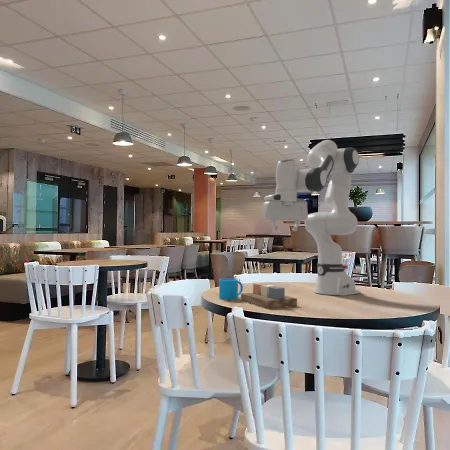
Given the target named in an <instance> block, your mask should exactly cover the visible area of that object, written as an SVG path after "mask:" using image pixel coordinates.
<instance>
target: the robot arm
mask: <svg viewBox="0 0 450 450" xmlns="http://www.w3.org/2000/svg"><path fill="white" fill-rule="evenodd" d="M306 160H307V165H308V167H309V168H301V169H299V168H298V166H297V161H296V160H295V159H292V158H291V159H281V160H278V161H277V166H276V169H275V182H276V186H275V190H274V191H275V193H272V194H269V195H266V196H264V198H263V199H264V201H265V202H264V203H263V204H262V213H261V214H262V216H261V217H262V218H263V219H264V220H269V223H270V224H271V227H272V231H278V229H279V226H278V225H276V223H275V222H276V221H277V220H281V221H283V220H284V221H294V226H292V227H291V230H292V232H298V227H299V225H300V224H301V221H303V222H304V228H305V230H306V232H308V233H309V234H310V235H311V236H312V237H313V239H314V241H315V243H316V245H317V255H318V258H317V259H318V260H317V261H318V262H317V264H316V265H317V267H316V271H317V275H316V276H317V277H316V284H315V288H314V291H313V292H314V293H316V294H321V295H327V296H329V295H330V296H332V295H333V296H350V295H355V294H360V293H361V290H360V289H359V290H358V289H356V283H355V280H354V278H352V277H351V276H350V275H349V274H347V273H346V272H345V271H346V270H348V269H349V265H348V264H343V260H342V259H343V258H342V257H343V250H342V247H341V246H340V244H338V243H337V242H335V241H334V240H333V238H332V236H345V235H346V236H347V235H352V234H354V233H355V232H356V230H357V229H358V224H359V223H358V218H357V217H356V215H355V214H354V213H353V212H351V210H350V208H349V205H348V204H349V197H350V193H351V188H352V175H351V174H352V173H353V172H354V171H355V169H357V167H358V165H359V163H360V155H359V152H358V151H357V149H356V148H355V147H345V148H344V147H343V148H338V145H337V144H336V142H335V141H334V140H331V139H324V140H322V141H321V142H319V143H317V144H316V145H314V146H313V147H312V148H311V149H310V150H309V152H308V153H307V156H306ZM331 173H332V175H331ZM330 175H331V177H330V180H329V182H328V185H327V180H328V178H329V176H330ZM326 185H327V188H326V191H325V196H324V204H325V206H327V207H328V208H329V209H330V210H332V211H317V212H313V213H312V212H311V213H308V202H307V200H306V199H304V198H298V197H297V196H298V195H297V193H299V192H300V193H304V192H305V193H306V192H311V193H312V192H316V193H317V192H321V191H322V190H323V189H324V188H325V187H326ZM331 235H332V236H331Z"/></svg>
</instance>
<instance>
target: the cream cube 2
mask: <svg viewBox="0 0 450 450" xmlns="http://www.w3.org/2000/svg"><path fill="white" fill-rule="evenodd" d="M269 287H277V286H276V285H272V284H268V285H261V296H264V297H269Z"/></svg>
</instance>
